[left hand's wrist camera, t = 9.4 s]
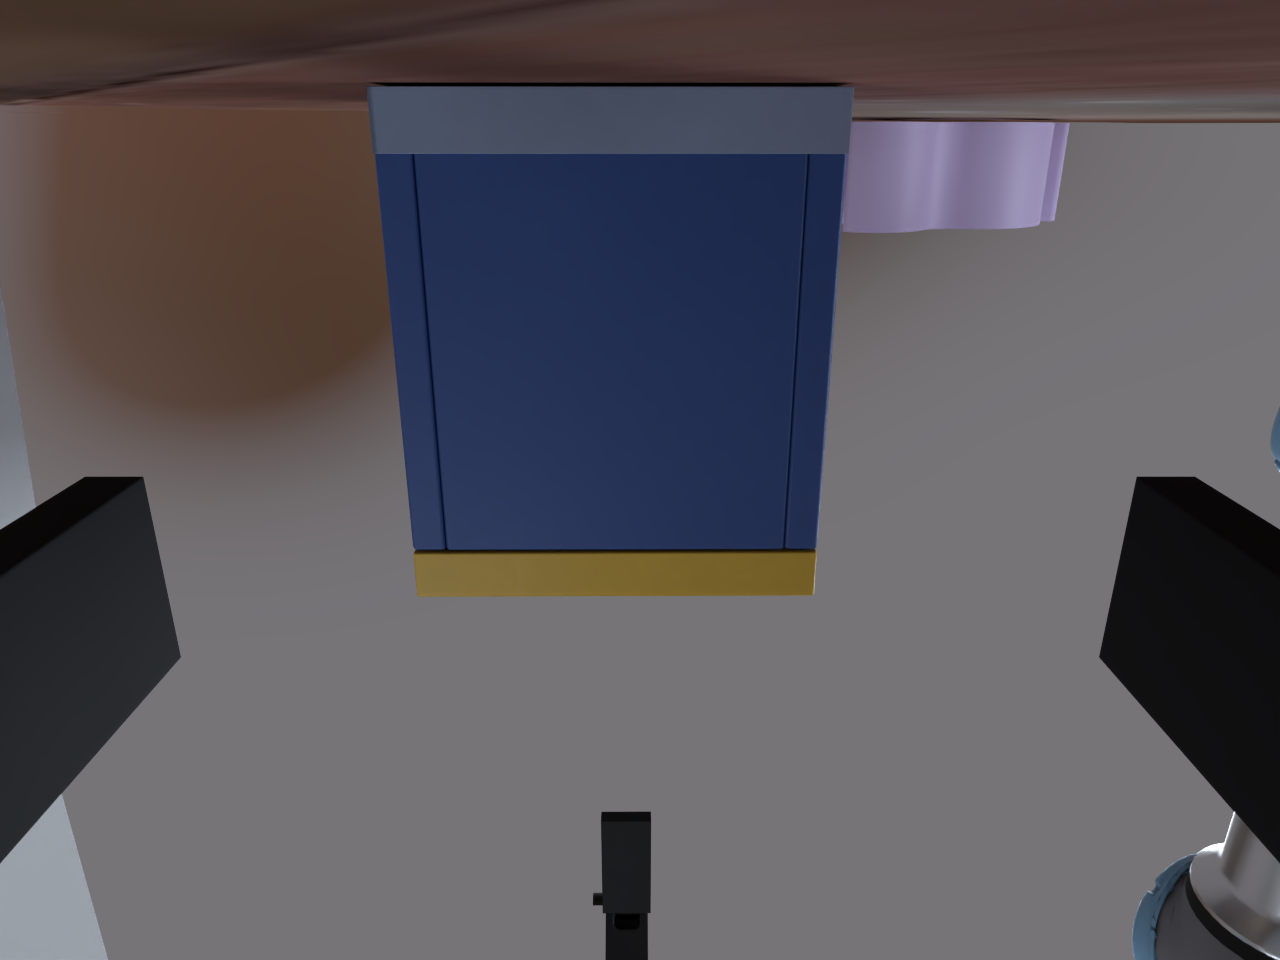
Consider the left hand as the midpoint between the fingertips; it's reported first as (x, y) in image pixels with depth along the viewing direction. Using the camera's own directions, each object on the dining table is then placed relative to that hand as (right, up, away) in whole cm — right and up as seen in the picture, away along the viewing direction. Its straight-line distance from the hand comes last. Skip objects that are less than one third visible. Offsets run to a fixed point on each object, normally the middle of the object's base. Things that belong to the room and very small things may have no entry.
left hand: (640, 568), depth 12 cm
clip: (+22, +27, +53) cm, 63 cm away
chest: (-1, +12, +13) cm, 17 cm away
